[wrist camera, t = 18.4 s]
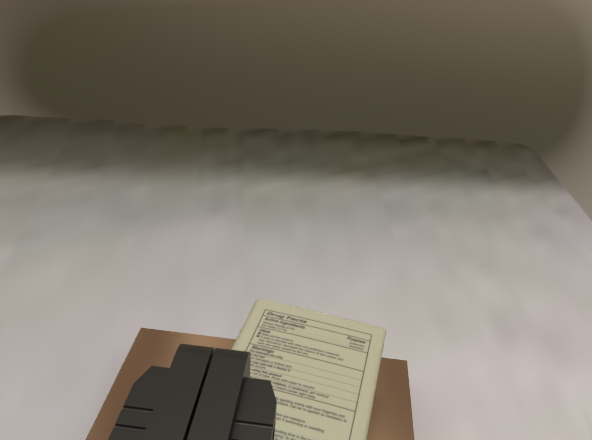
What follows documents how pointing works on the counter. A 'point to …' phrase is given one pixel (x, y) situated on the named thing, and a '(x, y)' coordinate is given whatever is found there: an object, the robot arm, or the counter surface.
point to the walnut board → (163, 345)
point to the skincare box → (314, 369)
